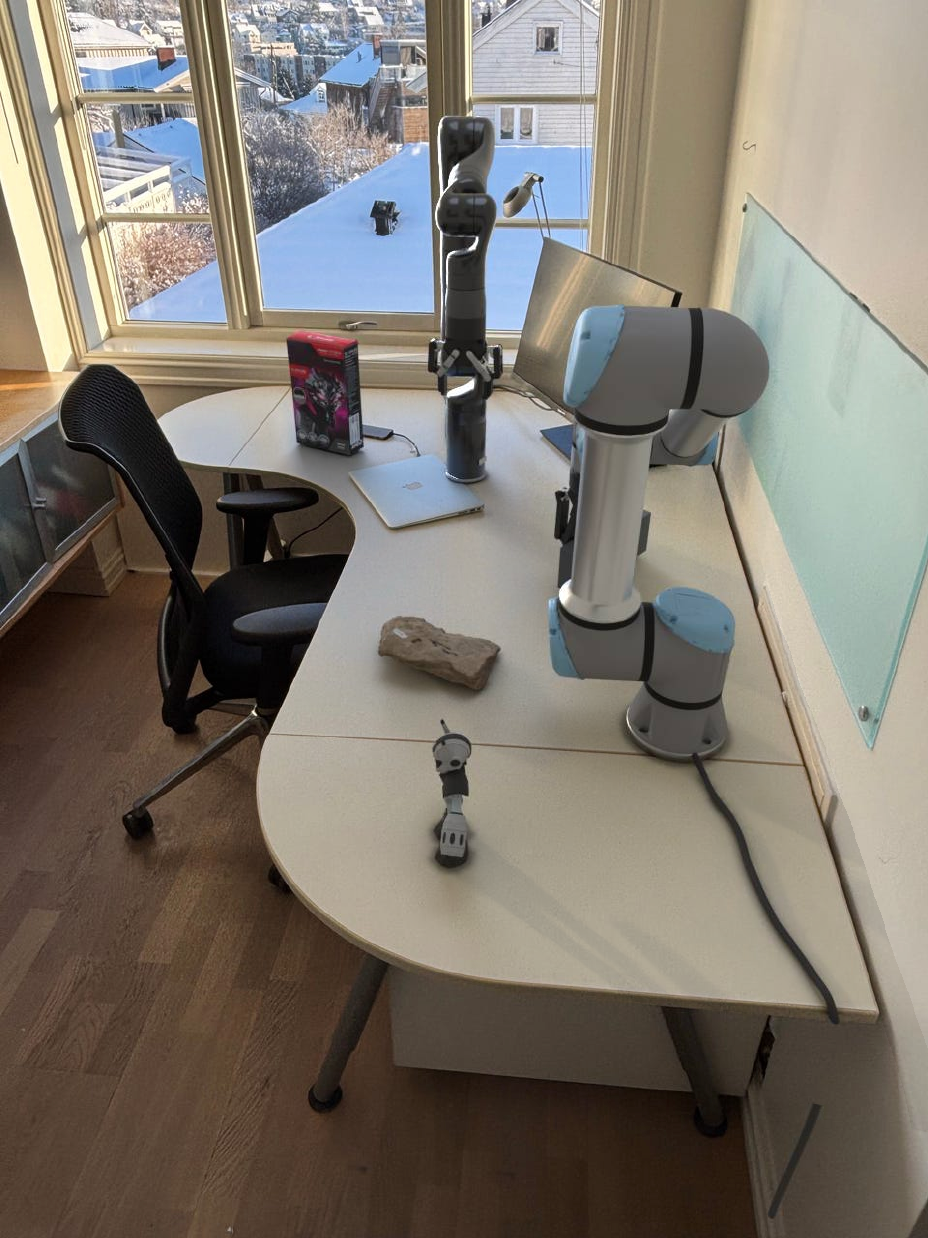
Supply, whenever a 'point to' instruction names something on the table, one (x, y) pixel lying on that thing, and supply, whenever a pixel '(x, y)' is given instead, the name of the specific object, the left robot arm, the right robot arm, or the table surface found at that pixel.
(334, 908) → the table surface
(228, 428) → the table surface
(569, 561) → the bar
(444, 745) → the robot
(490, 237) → the left robot arm
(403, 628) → the stone
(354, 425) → the graphics card box
